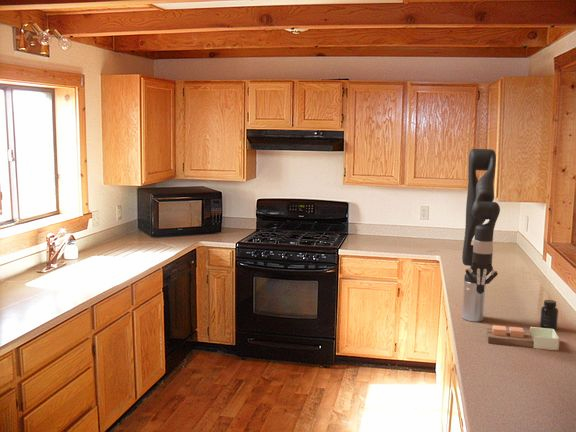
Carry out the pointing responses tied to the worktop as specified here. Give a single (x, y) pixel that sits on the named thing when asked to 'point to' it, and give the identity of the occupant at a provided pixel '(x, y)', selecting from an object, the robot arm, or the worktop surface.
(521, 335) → the tile
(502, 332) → the tile
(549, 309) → the supplement bottle
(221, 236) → the worktop surface
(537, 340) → the tray
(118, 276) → the worktop surface
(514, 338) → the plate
